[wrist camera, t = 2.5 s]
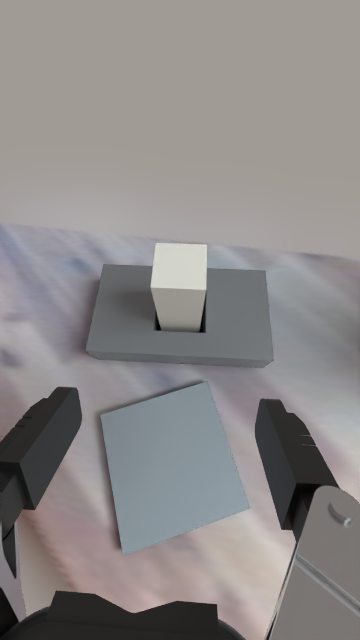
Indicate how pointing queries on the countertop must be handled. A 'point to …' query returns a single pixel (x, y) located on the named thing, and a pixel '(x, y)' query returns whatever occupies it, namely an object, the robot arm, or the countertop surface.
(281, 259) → the countertop surface
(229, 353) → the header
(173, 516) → the mat
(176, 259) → the tall cream white pillar
